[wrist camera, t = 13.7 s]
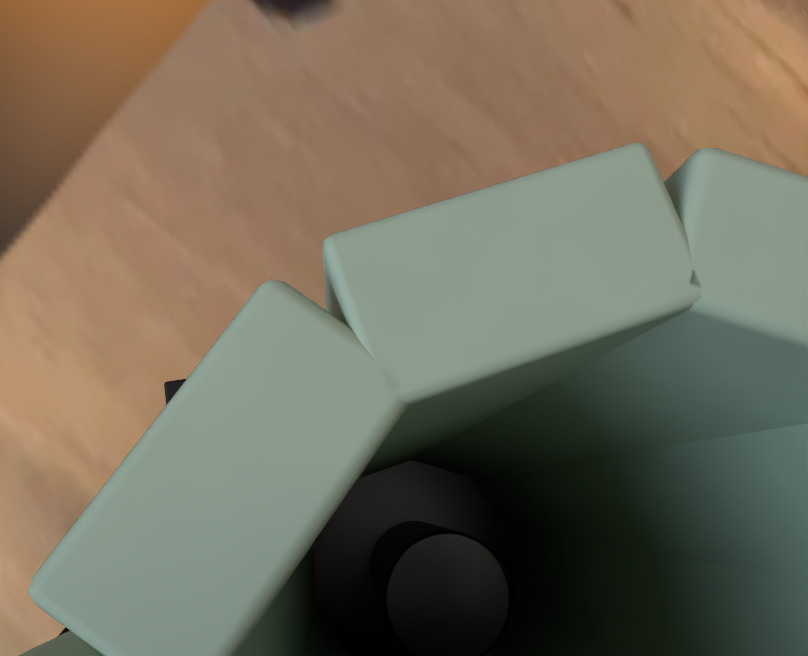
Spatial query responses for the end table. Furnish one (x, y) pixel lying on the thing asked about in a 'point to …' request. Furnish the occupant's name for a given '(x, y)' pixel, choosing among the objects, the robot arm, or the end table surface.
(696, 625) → the sleeve
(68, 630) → the robot arm
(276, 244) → the end table surface
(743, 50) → the end table surface
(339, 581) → the black stand base
